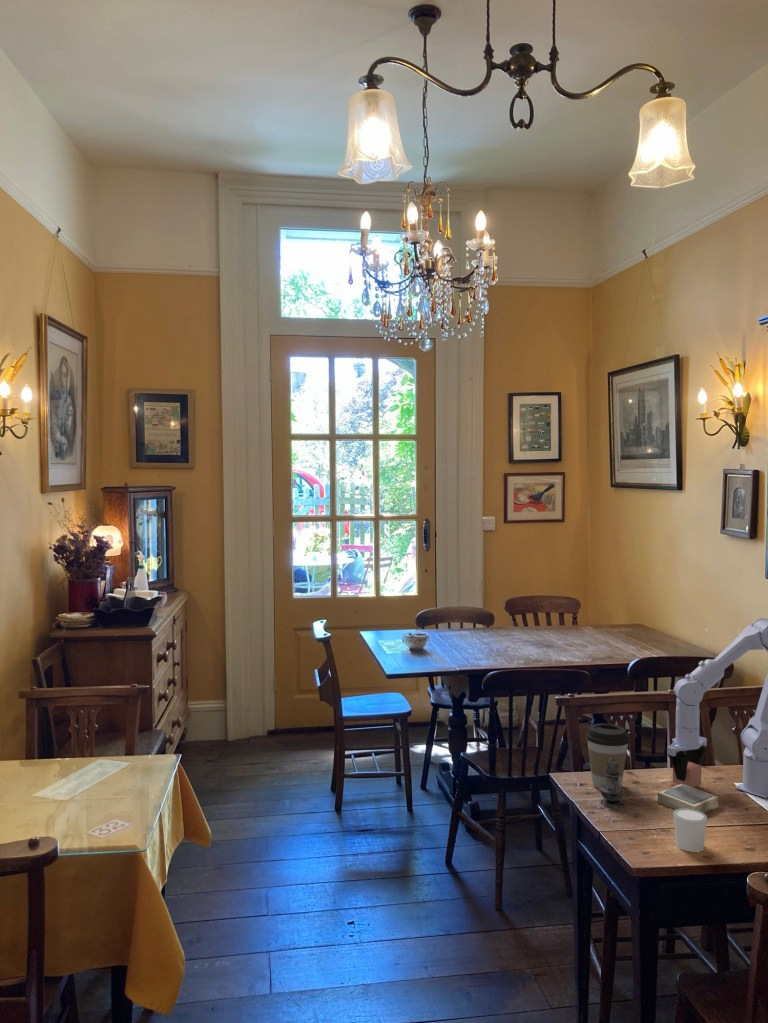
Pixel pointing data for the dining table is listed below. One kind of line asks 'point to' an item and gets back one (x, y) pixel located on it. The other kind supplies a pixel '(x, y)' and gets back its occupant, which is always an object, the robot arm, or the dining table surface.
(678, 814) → the shot glass
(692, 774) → the block
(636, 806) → the dining table surface
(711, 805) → the base
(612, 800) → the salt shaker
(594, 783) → the coffee cup
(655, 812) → the dining table surface
